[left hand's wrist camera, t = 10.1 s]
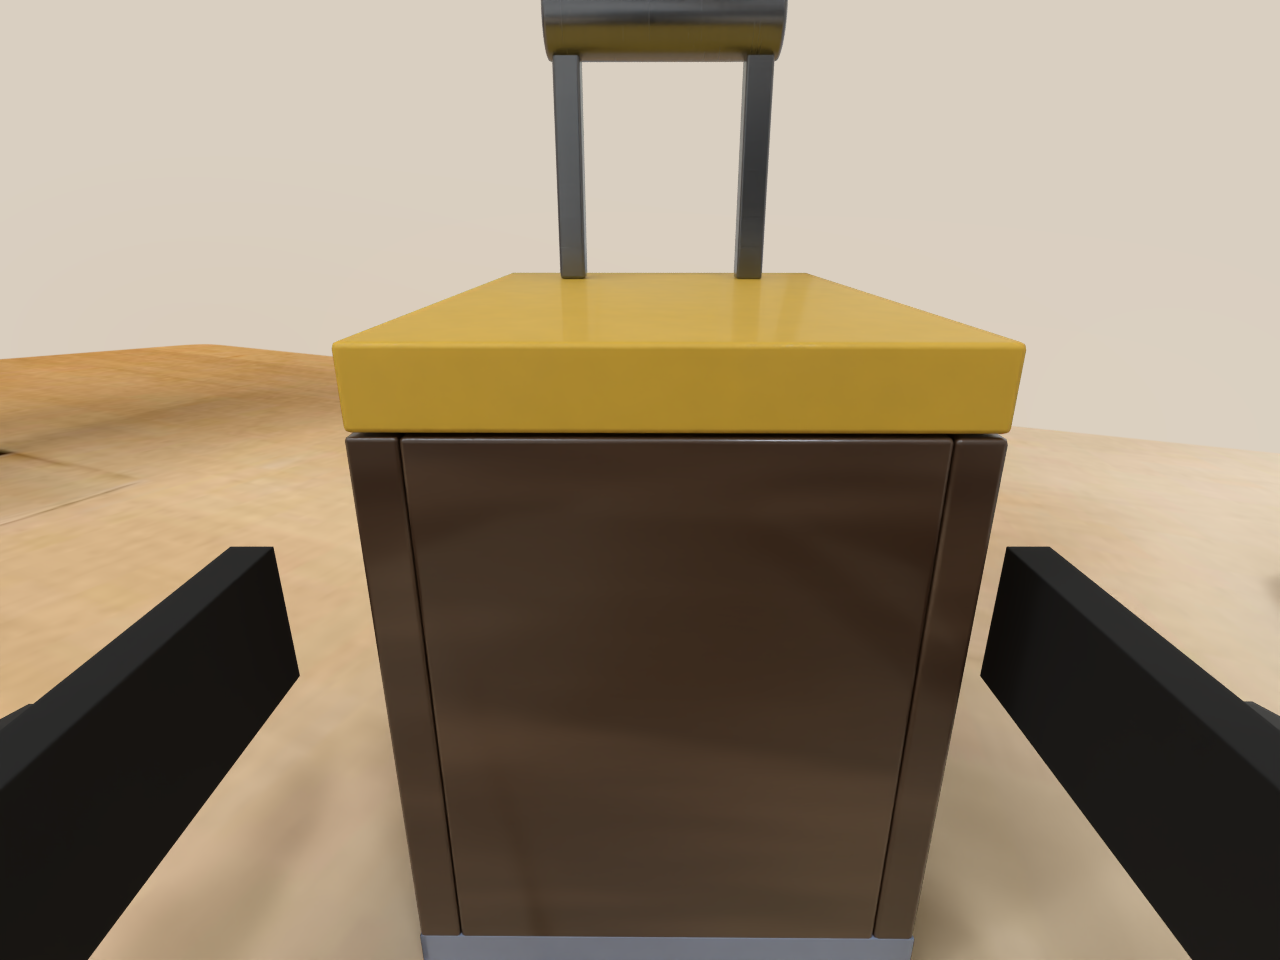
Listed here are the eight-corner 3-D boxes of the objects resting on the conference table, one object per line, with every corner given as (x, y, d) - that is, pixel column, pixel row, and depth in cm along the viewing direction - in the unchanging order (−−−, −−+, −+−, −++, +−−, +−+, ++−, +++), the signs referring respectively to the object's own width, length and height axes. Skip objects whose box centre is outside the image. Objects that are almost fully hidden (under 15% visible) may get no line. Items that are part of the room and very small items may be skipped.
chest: (528, 622, 25) (509, 318, 22) (783, 623, 25) (809, 318, 22) (426, 976, 14) (341, 438, 10) (906, 980, 13) (1012, 439, 10)
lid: (513, 314, 22) (493, 1, 19) (804, 314, 22) (830, 0, 19) (342, 434, 10) (210, -411, 7) (1012, 435, 10) (1178, -417, 7)
